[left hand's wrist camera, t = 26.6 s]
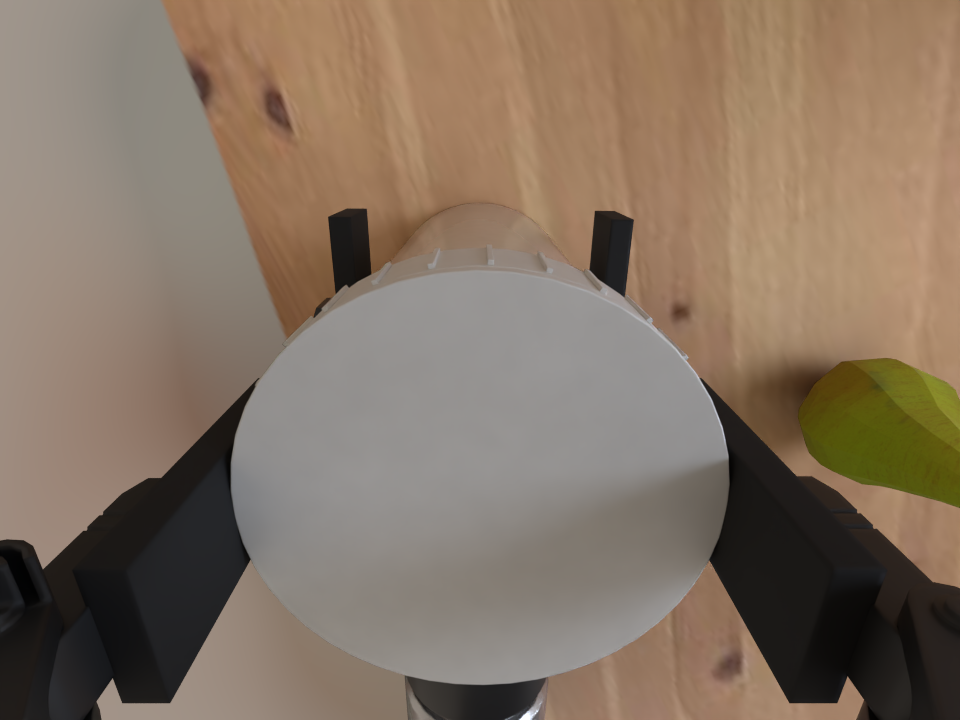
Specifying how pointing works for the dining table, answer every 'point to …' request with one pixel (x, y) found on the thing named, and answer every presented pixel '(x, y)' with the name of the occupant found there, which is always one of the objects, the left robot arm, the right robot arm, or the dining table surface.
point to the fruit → (886, 427)
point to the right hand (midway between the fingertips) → (480, 214)
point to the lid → (479, 469)
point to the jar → (479, 232)
